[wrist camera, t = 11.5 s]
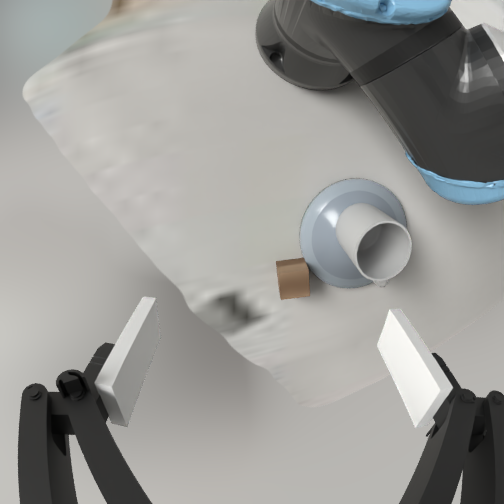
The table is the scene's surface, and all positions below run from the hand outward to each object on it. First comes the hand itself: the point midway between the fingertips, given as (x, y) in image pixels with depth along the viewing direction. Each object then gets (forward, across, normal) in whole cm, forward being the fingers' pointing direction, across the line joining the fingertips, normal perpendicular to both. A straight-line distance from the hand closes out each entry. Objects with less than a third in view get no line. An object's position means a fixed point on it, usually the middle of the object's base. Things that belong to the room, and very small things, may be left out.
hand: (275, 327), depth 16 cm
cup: (+24, +14, -2) cm, 28 cm away
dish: (+26, +13, -2) cm, 29 cm away
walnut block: (+26, +5, -9) cm, 28 cm away
